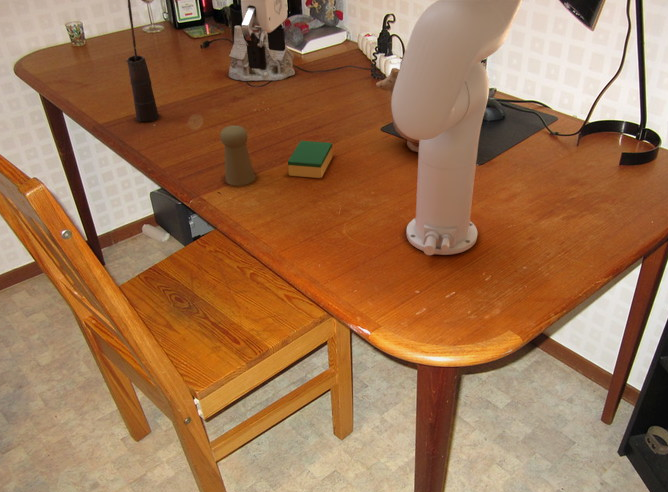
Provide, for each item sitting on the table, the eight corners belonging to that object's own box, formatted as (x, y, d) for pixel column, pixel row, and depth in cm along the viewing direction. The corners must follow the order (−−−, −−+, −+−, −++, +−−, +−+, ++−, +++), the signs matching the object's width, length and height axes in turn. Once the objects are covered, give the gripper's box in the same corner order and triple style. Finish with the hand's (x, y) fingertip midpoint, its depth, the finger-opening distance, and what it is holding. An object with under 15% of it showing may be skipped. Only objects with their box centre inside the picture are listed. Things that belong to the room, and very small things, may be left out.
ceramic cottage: (221, 72, 180) (216, 16, 171) (269, 61, 189) (267, 7, 179) (253, 91, 172) (250, 33, 162) (302, 78, 181) (302, 22, 171)
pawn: (219, 181, 132) (210, 131, 125) (237, 169, 136) (229, 119, 129) (243, 188, 130) (235, 137, 123) (260, 175, 134) (254, 125, 127)
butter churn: (135, 131, 151) (103, 4, 134) (118, 119, 157) (85, -5, 139) (171, 121, 156) (144, -4, 138) (154, 109, 161) (126, -12, 144)
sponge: (321, 178, 133) (320, 164, 131) (288, 175, 134) (287, 161, 132) (332, 156, 140) (332, 142, 138) (301, 154, 141) (300, 140, 139)
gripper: (260, -31, 100) (270, 78, 111) (297, -55, 113) (302, 45, 124) (215, -35, 101) (229, 73, 112) (256, -57, 114) (265, 41, 125)
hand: (267, 58), depth 118 cm, fingers open, 9 cm apart
